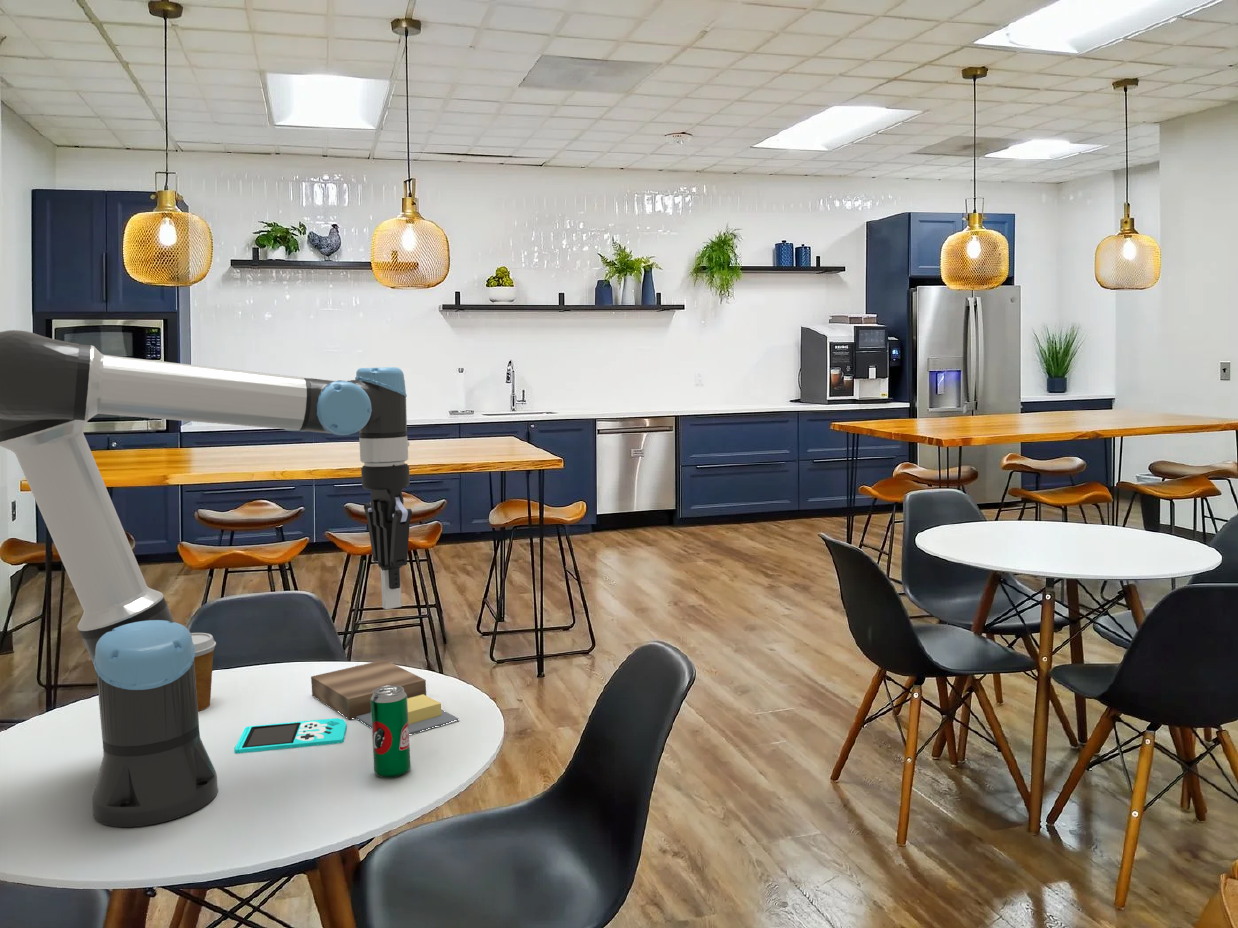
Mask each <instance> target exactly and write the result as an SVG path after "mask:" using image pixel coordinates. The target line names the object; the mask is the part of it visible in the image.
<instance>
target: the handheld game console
mask: <svg viewBox="0 0 1238 928" xmlns="http://www.w3.org/2000/svg"><path fill="white" fill-rule="evenodd" d="M345 732H347V722H346V721H345V720H344V719H343V718H339V717H337V718H335V717H334V718H324V719H312V720H304V721H303V720H302V721H300V720H299V721H289V722H282V723H281V722H280V723H270V724H260V725H248V726H245V728H244V729H243V731H242V733H241V734H240V737H239V739H238V742H237V743H236V745H235V747H234V750H233V751H234V754H244V753H246V754H247V753H257V752H264V751H265V752H266V751H275V750H276V751H277V750H285V749H295V748H305V747H316V746H326V745H327V746H328V745H337V744H343V743H344V741H345V737H344V736H346V733H345Z"/></svg>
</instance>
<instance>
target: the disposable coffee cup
mask: <svg viewBox="0 0 1238 928" xmlns="http://www.w3.org/2000/svg"><path fill="white" fill-rule="evenodd" d="M190 633H191V636H192V642H193V644H194V647H195V657H194V667H195V680H196V693H197V706H198V712H201V711H203V710H206V709H207V708H209V707H210V706H211V697H212V696H211V695H212V683H213V682H212V680H213V679H212V678H213V677H212V676H213V662H214V660H213V659H214V650H215V648H216V647H215V646H216V645H217V641H215V639H214V637H213V635H212V634H211V633H208V632H207V633H206V632H190Z"/></svg>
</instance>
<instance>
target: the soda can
mask: <svg viewBox="0 0 1238 928" xmlns="http://www.w3.org/2000/svg"><path fill="white" fill-rule="evenodd" d="M370 704H371V721H372V729H371V736H372V737H371V738H372V753H373V755H372V756H373V770H374V773H375V774H376V775H377V776H378V777H379V778H384V779H393V778H398V777H401V776H403V775H405V774H407V773H408V771H409V770H410V769H411V765H412V764H411V748H410V735H409V724H408V704H407V695H406V693H405V692H404V688H403V687H401V686H396V685H389V686H383V687H379V688H377V689H375V690H374V691H373V695H372V697H371V699H370Z"/></svg>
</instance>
